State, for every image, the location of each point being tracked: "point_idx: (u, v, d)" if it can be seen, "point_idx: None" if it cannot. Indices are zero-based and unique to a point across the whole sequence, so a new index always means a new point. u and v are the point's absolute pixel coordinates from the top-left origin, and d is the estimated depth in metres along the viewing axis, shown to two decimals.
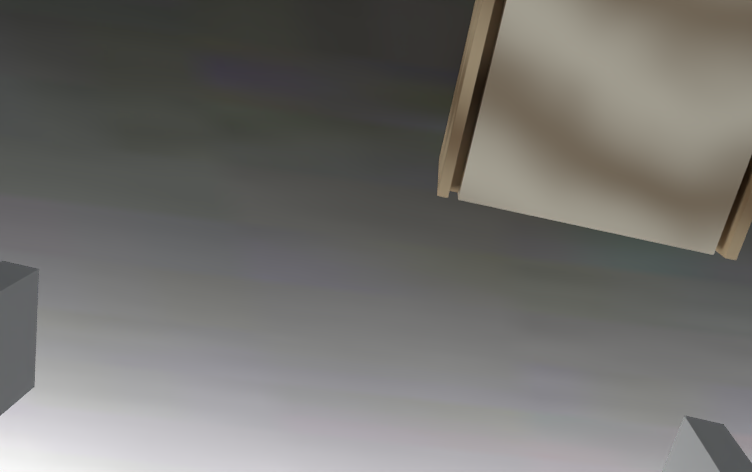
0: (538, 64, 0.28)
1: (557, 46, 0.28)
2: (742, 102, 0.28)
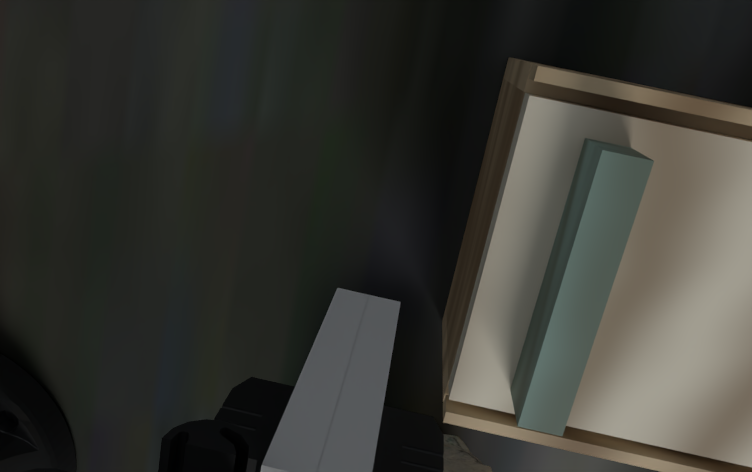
0: None
1: None
2: None
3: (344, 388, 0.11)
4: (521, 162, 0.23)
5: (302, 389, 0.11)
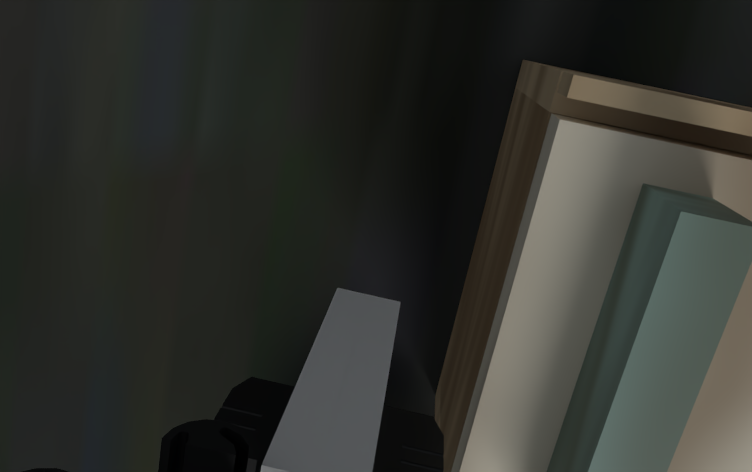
0: None
1: None
2: None
3: (344, 388, 0.11)
4: (545, 217, 0.15)
5: (302, 389, 0.11)
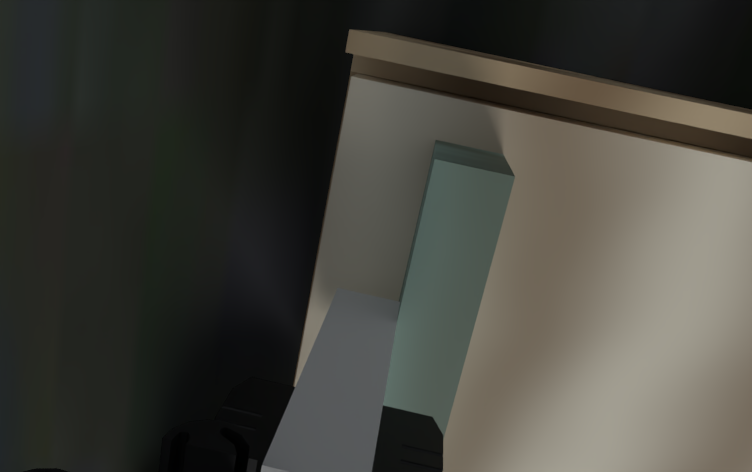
0: None
1: None
2: None
3: (343, 388, 0.11)
4: (346, 174, 0.16)
5: (302, 389, 0.11)
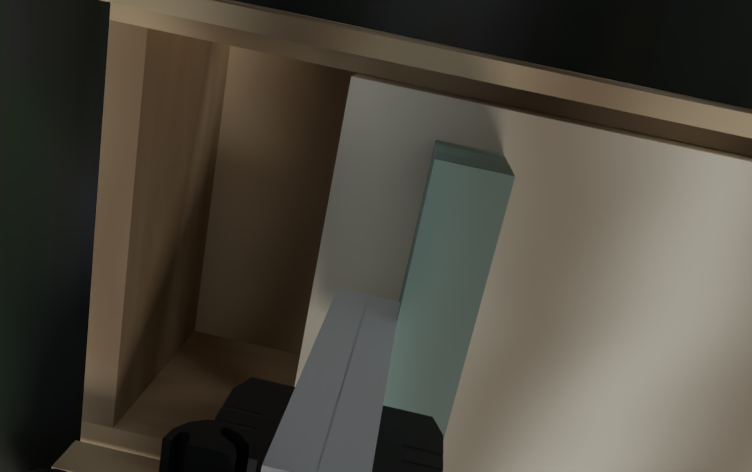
0: None
1: None
2: None
3: (344, 388, 0.11)
4: (346, 174, 0.16)
5: (302, 389, 0.11)
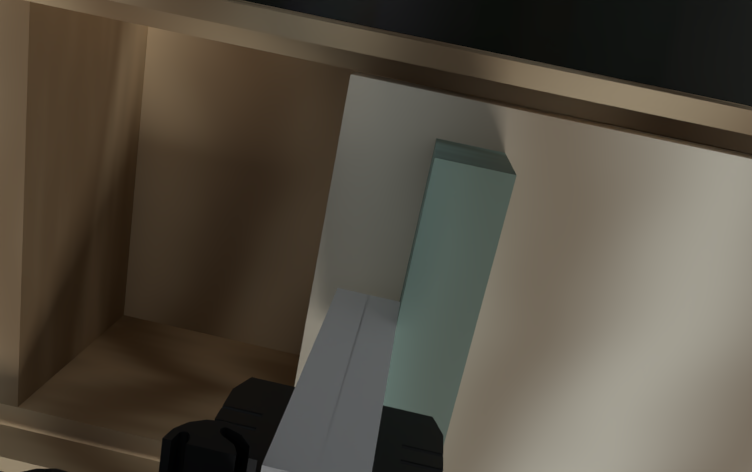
0: None
1: None
2: None
3: (344, 388, 0.11)
4: (345, 174, 0.15)
5: (302, 389, 0.11)
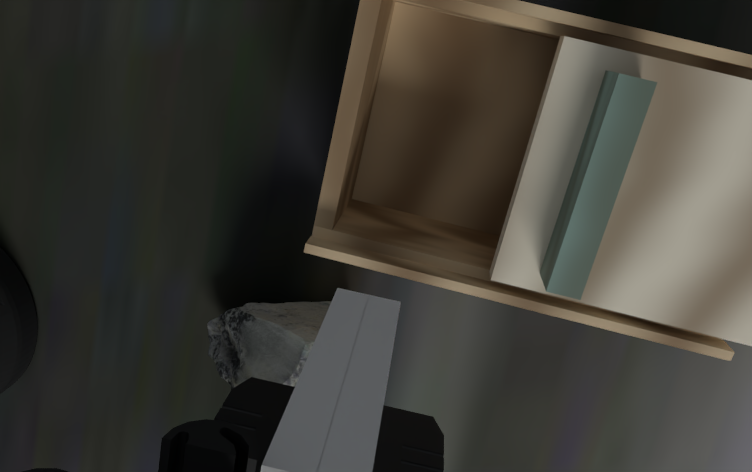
0: None
1: None
2: None
3: (344, 388, 0.11)
4: (555, 88, 0.30)
5: (302, 389, 0.11)
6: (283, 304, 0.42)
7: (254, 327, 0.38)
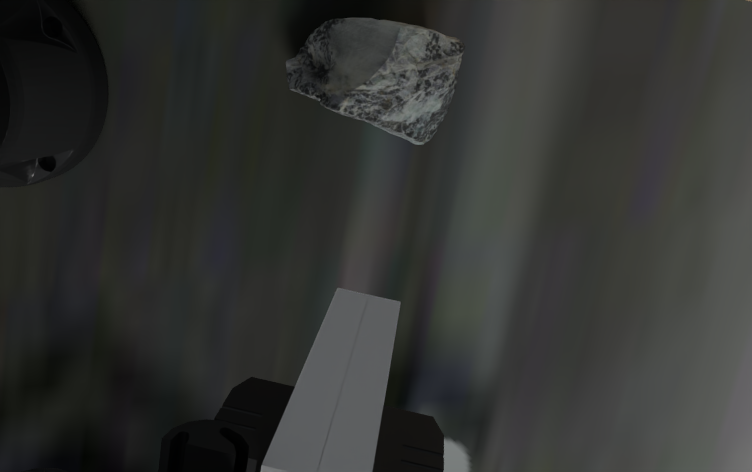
0: None
1: None
2: None
3: (344, 388, 0.11)
4: None
5: (302, 389, 0.11)
6: None
7: (344, 27, 0.38)
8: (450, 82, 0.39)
